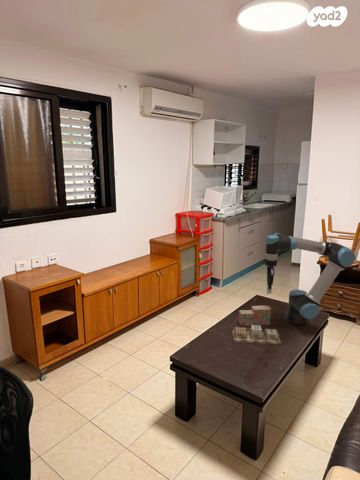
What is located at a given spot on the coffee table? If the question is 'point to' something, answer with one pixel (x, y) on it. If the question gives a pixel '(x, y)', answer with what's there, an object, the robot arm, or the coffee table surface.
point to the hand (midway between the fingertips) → (269, 293)
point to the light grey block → (271, 332)
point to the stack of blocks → (255, 316)
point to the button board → (255, 337)
